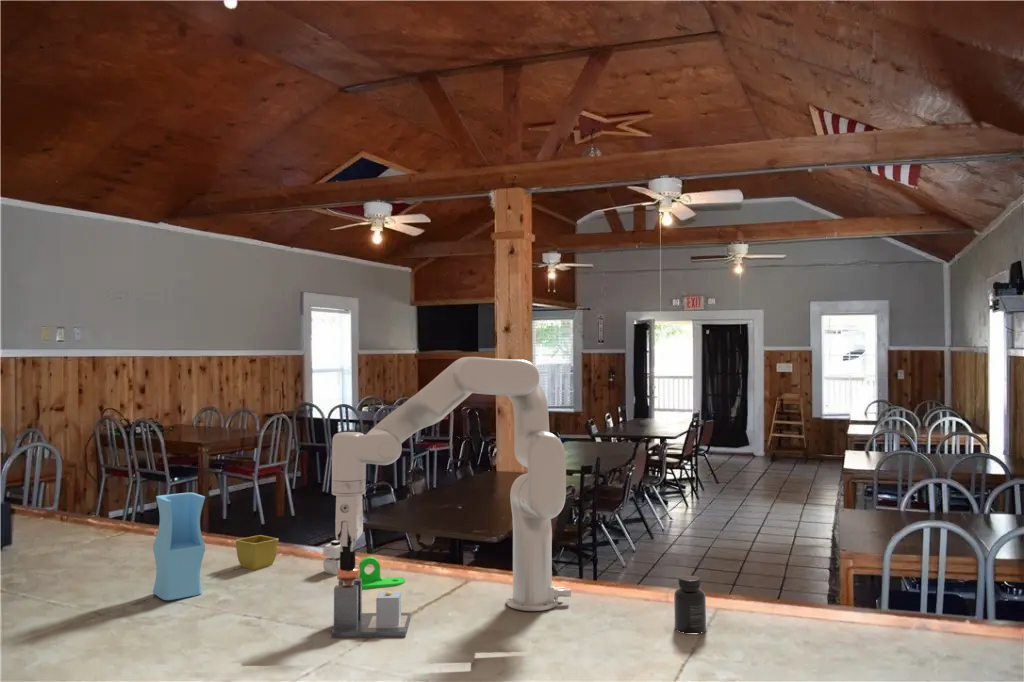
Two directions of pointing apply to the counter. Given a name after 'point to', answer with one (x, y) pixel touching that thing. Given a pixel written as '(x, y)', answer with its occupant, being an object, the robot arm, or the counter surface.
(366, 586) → the mechanical part
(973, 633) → the counter surface
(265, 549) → the flower pot
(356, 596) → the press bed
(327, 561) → the grey blocky fitting
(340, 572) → the ram
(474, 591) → the counter surface
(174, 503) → the vase
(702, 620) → the supplement bottle
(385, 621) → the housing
